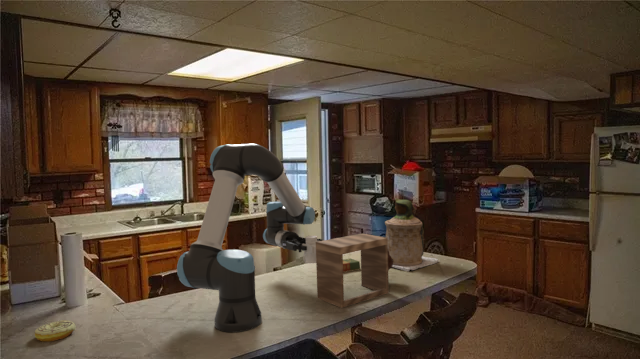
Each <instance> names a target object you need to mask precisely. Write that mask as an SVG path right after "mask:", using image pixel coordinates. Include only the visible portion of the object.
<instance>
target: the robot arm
mask: <svg viewBox="0 0 640 359" xmlns="http://www.w3.org/2000/svg"><path fill="white" fill-rule="evenodd" d="M209 164H210V166H209V168H210V171H211V173H212V177H213V179H214V182H213V186H212V188H211V191H210V192H211V193H210V196H209V199H208V203H207V206H206V209H205V211H204V212H205V213H204V216H203V219H202V223H201V226H200V228H199V229H200V230H199V232H198V237H197V239H196V241H194V242H192V243H191V244H190V247H189V250H188V251H185V252H183V253H182V254H181V255H180V256H179V258H178V261H177V264H176V273H177V277H178V280H179V281H180V282H181V284H183V285H184V286H185V287H188V288H193V289H202V290H203V289H205V290H210V291H211V290H213V291H218V298H219V301H218V304H217V305H218V306H217V308H216V312H215V316H214V328H216V330H218V331H221V332H226V333H238V332H245V331H249V330H252V329H255V328H257V327H258V326H260V325H261V323H262V322H263V318H262V316H263V315H262V312H261V309H260V307H259V304H258V301H257V299H256V297H257V296H256V276H255V275H256V272H255V271H256V265H255V261H254V256H253V254H251V253H250V252H248V251H246V250H243V249H242V250H241V249H223V247H222V246H223V242H224V239H225V235H226V232H227V227H228V225H229V220H230V218H231V213H232V209H233V206H234V202H235V198H236V195H237V191H238V188H239V186H240V185H242V184H244V181H245V178H246V176H256V177H259V178H260V179H261V180H262V181H263V182H265V183H267V185H268V186H269V187H270V189H271V190H272V191H273V193H274V194H275V196H276V197H277V198H278V200H279V201H269V202H267V203H266V210H265V211H266V212H265V214H266V229H264V231H263V233H262V238H263V241H264V242H265V243H266V244H269V245H271V246H275V247H279V248H283V250H285V249H286V250H289V251H294V252H296V251H298V253H302V252H304V251H306V252H309V253H314V247H313V246H312V245H308V244H306V238H305V237H303V236H299V234H298V233H297V232H294V231H291V230H285V225H302V226H303V225H304V226H305V225H312V224H313V223H314V221H315V218H316V213H315V212H316V211H315V209H314V207H313V206H306V205H305V204H304V203H303V201H302V199H301V198H300V196H299V195H298V192H297V191H296V189H295V188H294V186H293V184H292V182H291V181H290V180H289V178H288V176H287V175H286V173H285V172H284V170H285V166H284V165H283V163H282V162H281V160H280V159H279V157H278V156H276V154H274V153H273V152H272V151H271V150H270V149H268V148H266V147H264V146H263V145H260V144H257V143H241V144H231V143H230V144H229V143H228V144H223V145H219V146H217V147H215V148H214V149H213V151H212V152H211V155H210V159H209ZM318 241H324V239H321V238H317V242H318Z"/></svg>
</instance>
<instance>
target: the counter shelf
mask: <svg viewBox="0 0 640 359" xmlns="http://www.w3.org/2000/svg"><path fill="white" fill-rule="evenodd" d="M353 252H354V253H355V252H360V271H361V272H360V276H361V278H360V279H361V281H360V282H361V286H362V287H365V288H368V289H371V290H373V291H370V292H367V293H364V294H360V295H357V296H354V297H349V298H347V299H345V292H344V291H345V289H344V272H343V260H344V255H345V254H350V253H353ZM315 264H316V265H315V266H316V296H317V299H318V300H320V301H323V302H326V303H328V304H331V305H333V306H336V307H338V308H341V309H342V308H345V307H349V306H352V305H355V304H358V303H362V302H364V301H368V300H371V299H375V298H378V297H381V296H383V295H386V294H390V292H389V291H390V287H389V285H390V284H389V270H388V238H386V236H379V235H372V234H366V233H358V234H352V235H351V234H350V235H347V236H342V237H336V238H335V237H334V238H330V239H325V240H324V239H323V241H318V242H316V263H315Z"/></svg>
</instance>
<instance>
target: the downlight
mask: <svg viewBox="0 0 640 359" xmlns="http://www.w3.org/2000/svg"><path fill="white" fill-rule="evenodd" d="M304 238H306V244H308V245H312V246H313V247H314V253H309V252H306V251H303V256H302V257H303V262H304V263H305V264H316V242H317V239H318V236H317V235H307V236H306V235H305V237H304Z"/></svg>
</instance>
